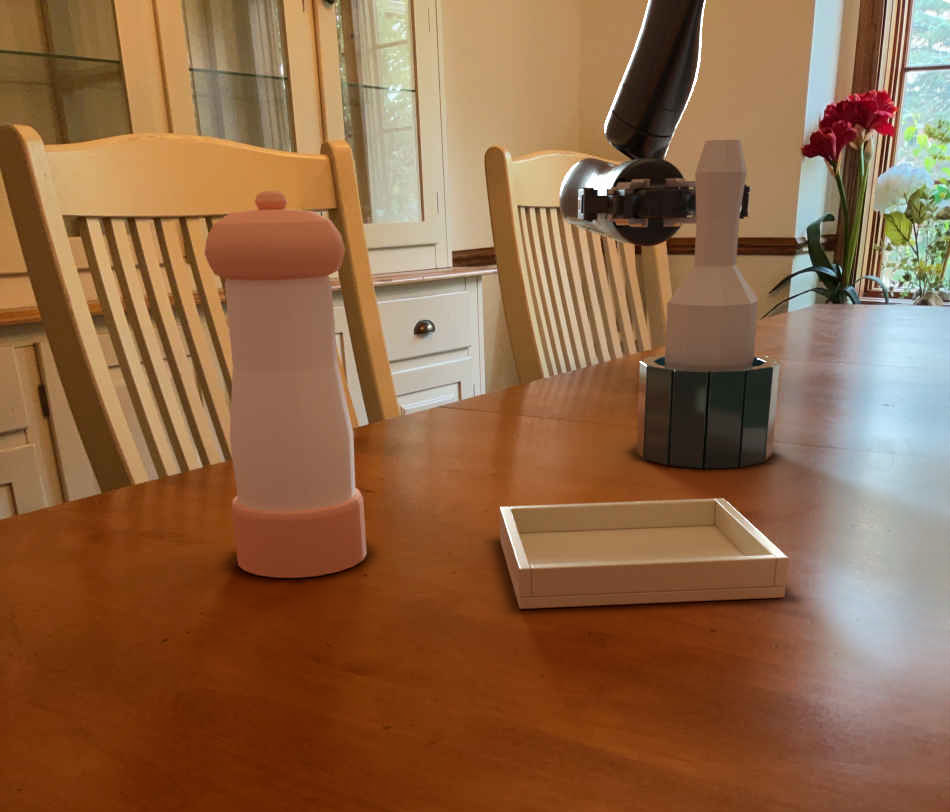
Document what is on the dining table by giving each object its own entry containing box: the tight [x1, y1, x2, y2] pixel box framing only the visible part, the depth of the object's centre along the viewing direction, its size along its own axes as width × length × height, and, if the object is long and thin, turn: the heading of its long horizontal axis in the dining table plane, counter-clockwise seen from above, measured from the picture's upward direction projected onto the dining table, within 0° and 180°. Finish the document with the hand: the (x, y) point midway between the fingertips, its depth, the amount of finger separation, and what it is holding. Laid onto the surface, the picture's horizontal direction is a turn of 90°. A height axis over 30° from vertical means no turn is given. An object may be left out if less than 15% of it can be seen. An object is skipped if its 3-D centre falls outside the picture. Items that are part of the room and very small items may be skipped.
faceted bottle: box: [664, 139, 759, 370], centre depth 77 cm, size 6×6×22 cm
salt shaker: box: [204, 190, 368, 579], centre depth 56 cm, size 7×7×19 cm
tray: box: [499, 497, 789, 610], centre depth 56 cm, size 13×11×2 cm
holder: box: [636, 354, 781, 470], centre depth 80 cm, size 10×10×7 cm
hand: (681, 203), depth 84 cm, fingers open, 8 cm apart
